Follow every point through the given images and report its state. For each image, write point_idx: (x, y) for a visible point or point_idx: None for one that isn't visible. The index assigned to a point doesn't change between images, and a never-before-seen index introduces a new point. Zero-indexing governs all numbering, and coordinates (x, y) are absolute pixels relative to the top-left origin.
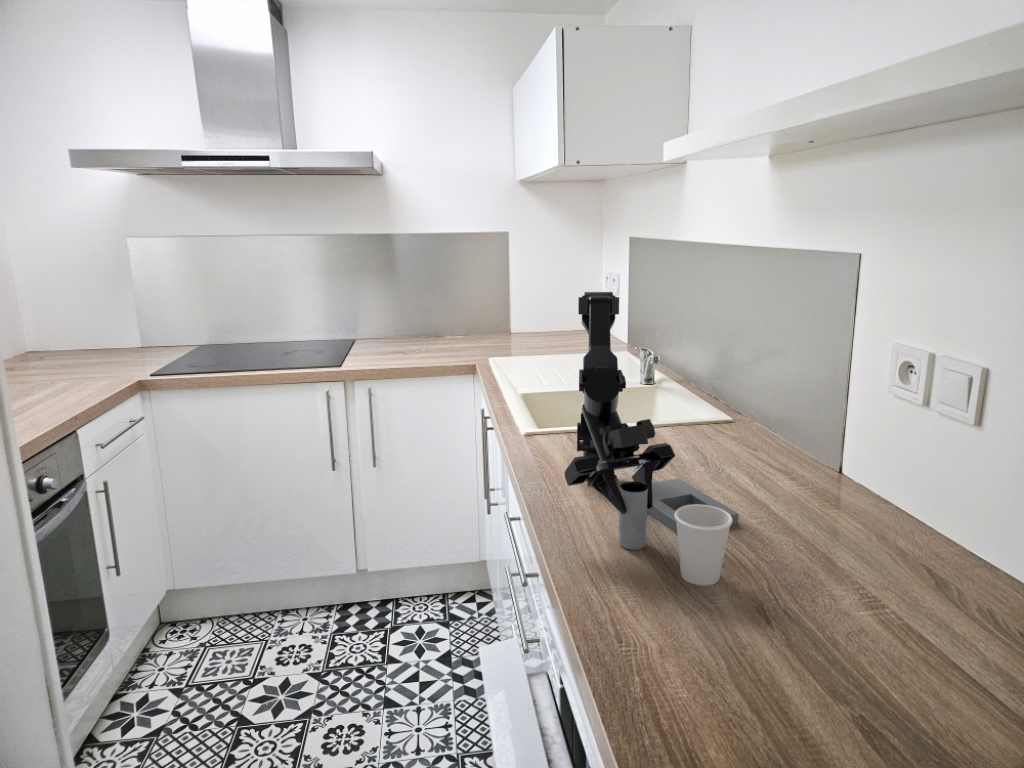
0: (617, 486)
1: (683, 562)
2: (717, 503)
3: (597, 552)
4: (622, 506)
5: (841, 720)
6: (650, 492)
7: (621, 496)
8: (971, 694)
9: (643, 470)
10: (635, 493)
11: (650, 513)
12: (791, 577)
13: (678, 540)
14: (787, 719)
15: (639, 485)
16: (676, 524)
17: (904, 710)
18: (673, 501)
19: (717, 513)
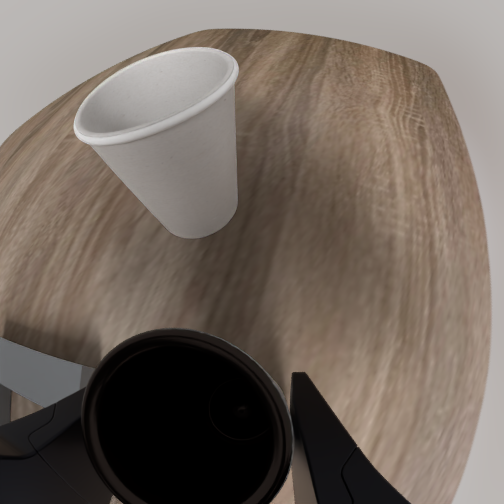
0: (316, 484)
1: (236, 172)
2: None
3: (369, 401)
4: (313, 386)
5: (268, 40)
6: None
7: (303, 425)
8: (165, 49)
9: (7, 475)
10: (228, 343)
11: None
12: (90, 165)
13: (228, 150)
14: (305, 45)
15: (110, 452)
16: (83, 387)
17: (218, 41)
18: None
19: (89, 119)
